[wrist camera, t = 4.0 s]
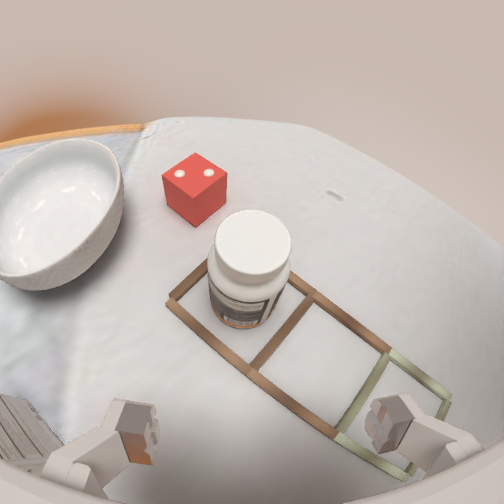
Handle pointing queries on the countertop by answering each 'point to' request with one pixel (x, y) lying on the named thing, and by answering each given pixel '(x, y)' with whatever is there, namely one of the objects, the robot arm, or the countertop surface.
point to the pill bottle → (248, 267)
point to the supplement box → (24, 435)
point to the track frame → (289, 402)
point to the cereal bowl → (58, 212)
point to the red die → (195, 188)
